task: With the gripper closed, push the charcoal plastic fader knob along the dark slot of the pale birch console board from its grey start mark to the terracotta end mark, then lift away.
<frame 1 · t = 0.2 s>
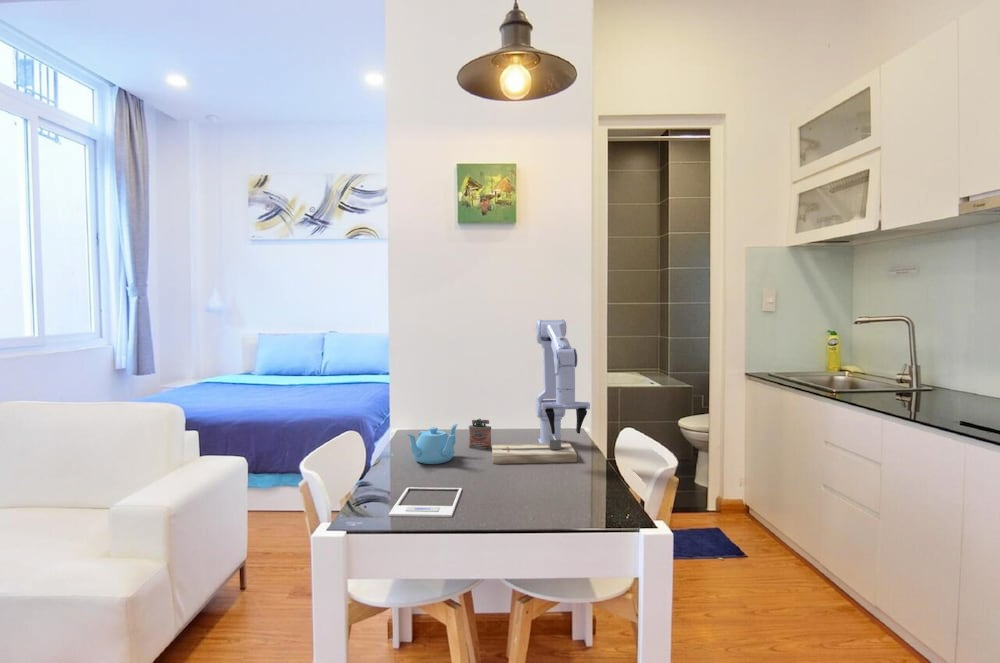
hand: (565, 432, 156), 10 cm above the table, tool pointing down, fingers open, 7 cm apart
photo frame: (427, 504, 126), on the table
lighter: (480, 448, 177), on the table
console board: (532, 456, 165), on the table
fader: (554, 442, 166), point 4 cm above the table, slide at 0.0 cm
teapot: (436, 461, 162), on the table
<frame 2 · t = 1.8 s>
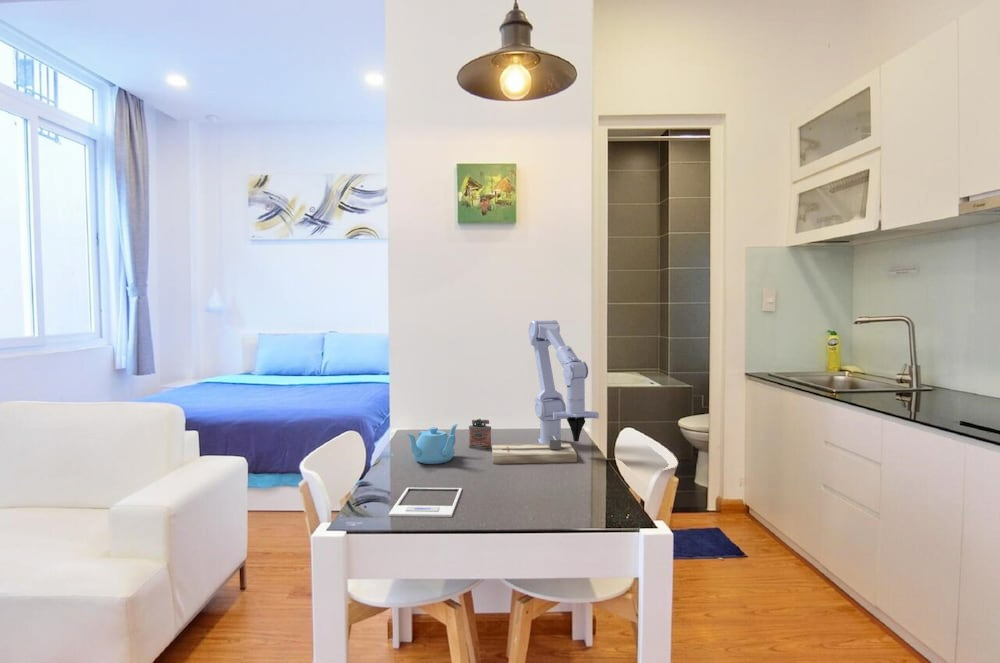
hand: (576, 440, 166), 5 cm above the table, tool pointing down, fingers closed
nothing on the table moved.
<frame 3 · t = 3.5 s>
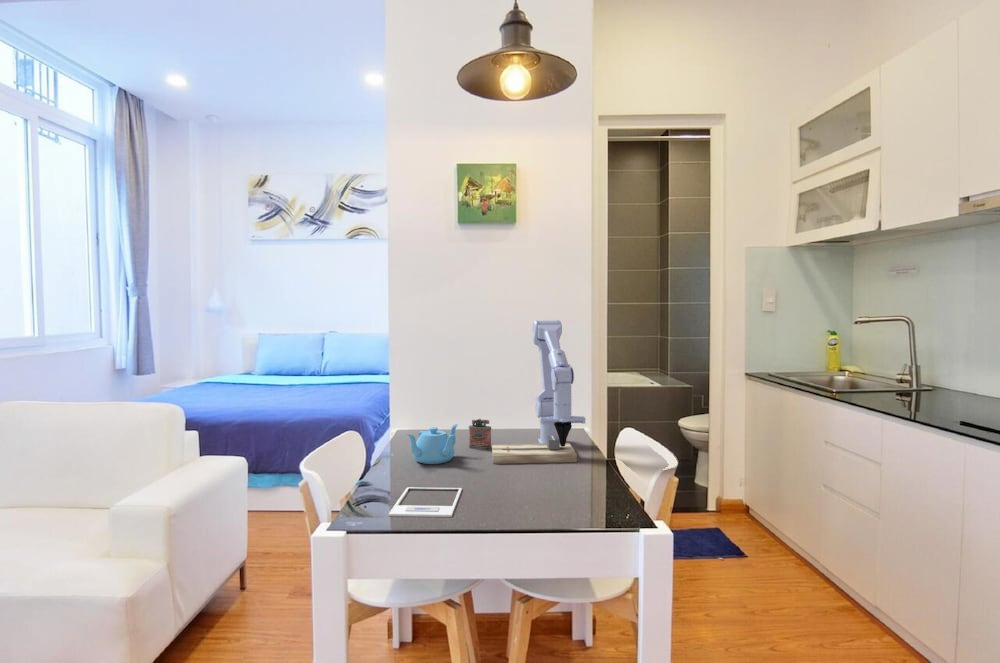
hand: (562, 445, 166), 3 cm above the table, tool pointing down, fingers closed
fader: (553, 442, 166), point 4 cm above the table, slide at 0.4 cm, touching gripper
everything else where it was.
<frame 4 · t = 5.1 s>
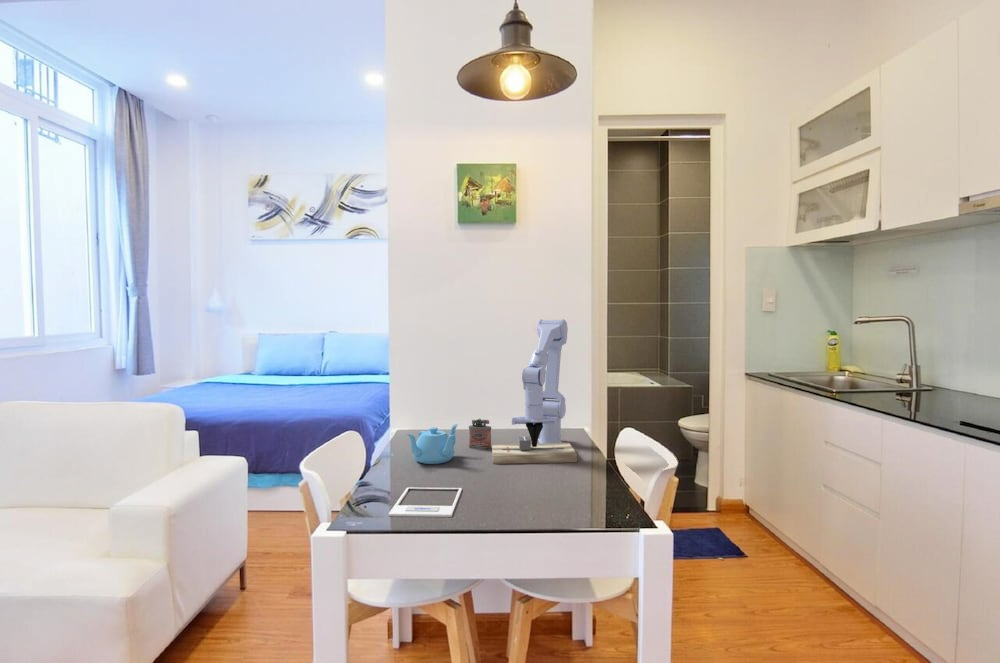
hand: (534, 446, 165), 3 cm above the table, tool pointing down, fingers closed
fader: (524, 443, 165), point 4 cm above the table, slide at 9.7 cm, touching gripper
everything else where it was.
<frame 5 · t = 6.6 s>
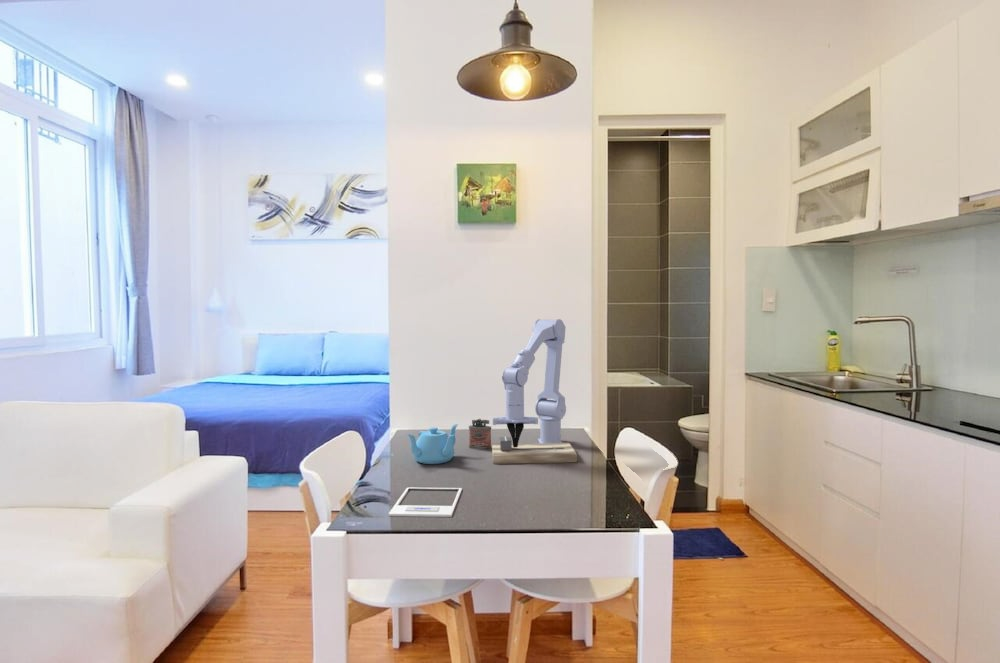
hand: (515, 446, 165), 3 cm above the table, tool pointing down, fingers closed
fader: (505, 443, 165), point 4 cm above the table, slide at 15.8 cm, touching gripper
everything else where it was.
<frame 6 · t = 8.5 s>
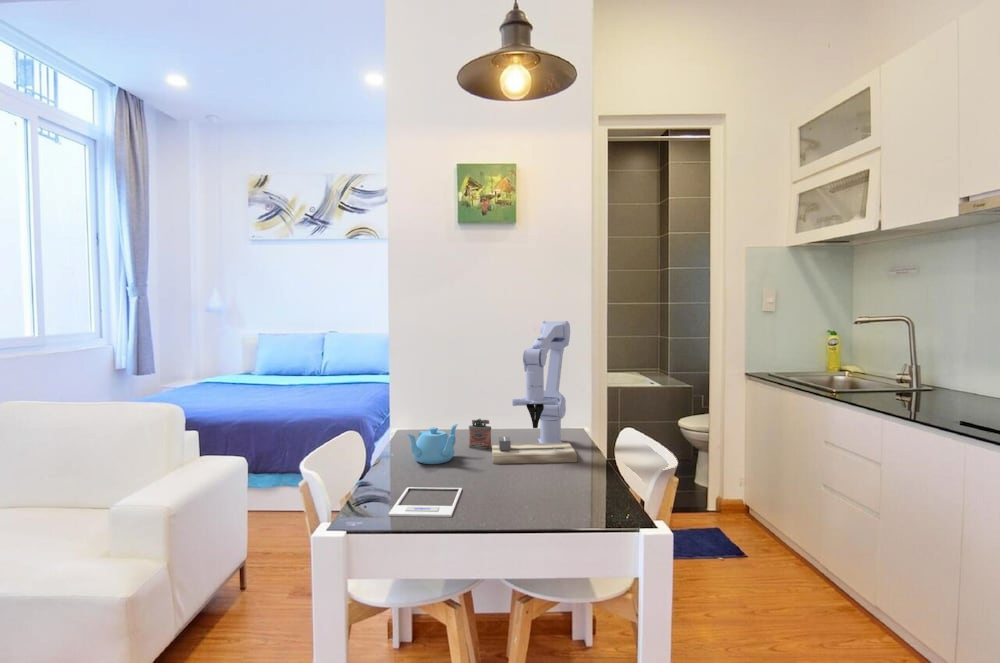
hand: (535, 427, 166), 9 cm above the table, tool pointing down, fingers closed
fader: (504, 443, 165), point 4 cm above the table, slide at 16.1 cm
everything else where it was.
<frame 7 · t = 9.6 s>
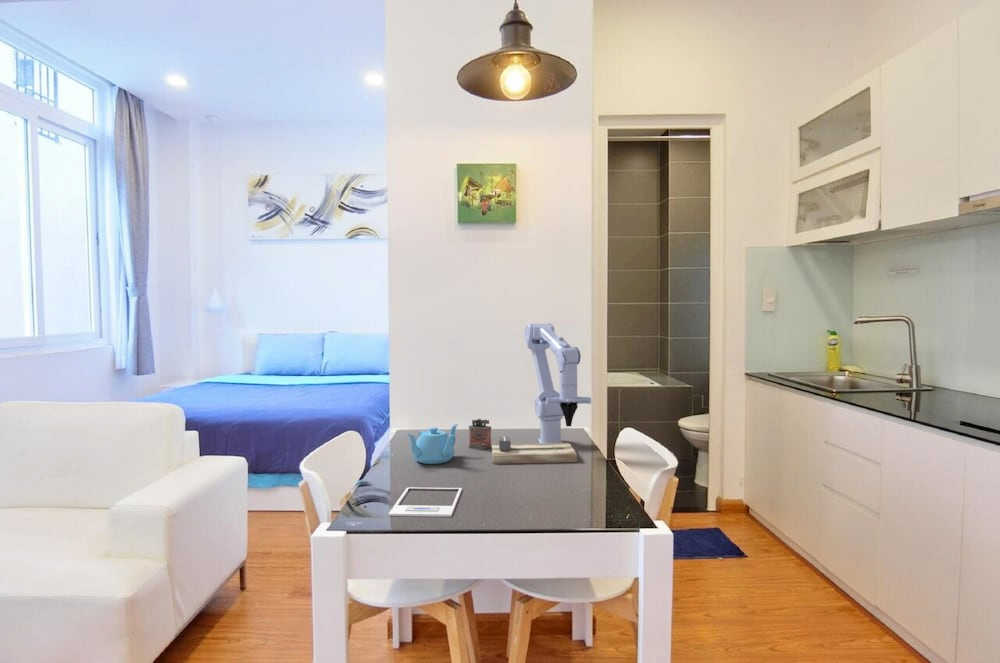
hand: (568, 425, 168), 9 cm above the table, tool pointing down, fingers closed
nothing on the table moved.
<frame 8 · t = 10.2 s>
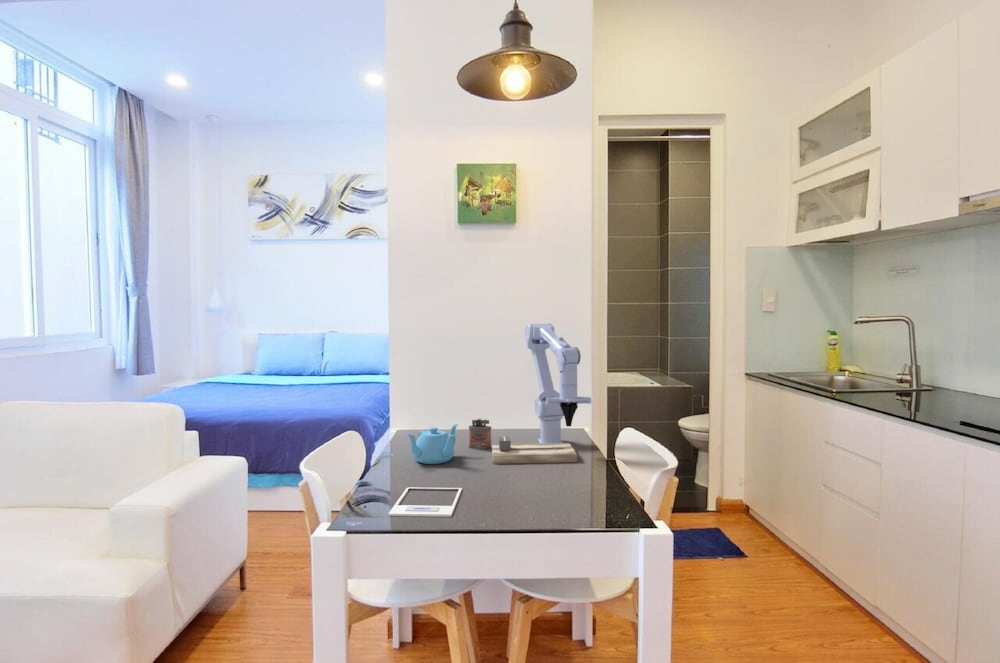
hand: (568, 425, 168), 9 cm above the table, tool pointing down, fingers closed
nothing on the table moved.
at the end: fader slide at 16.1 cm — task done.
